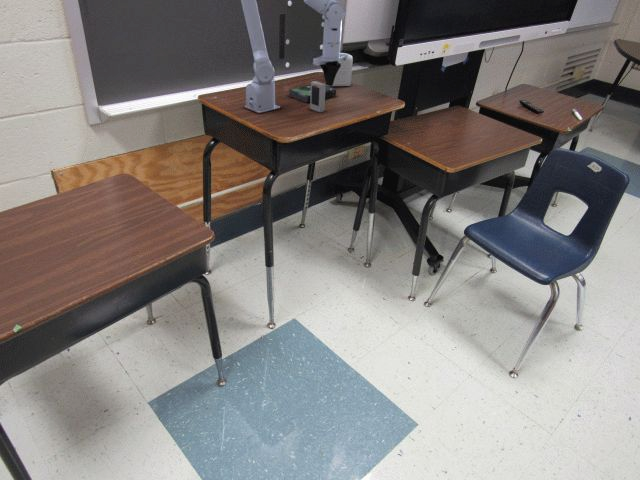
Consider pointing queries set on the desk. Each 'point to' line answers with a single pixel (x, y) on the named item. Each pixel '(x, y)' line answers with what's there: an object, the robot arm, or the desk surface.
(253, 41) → the robot arm
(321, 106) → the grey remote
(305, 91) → the disk drive
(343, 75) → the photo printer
